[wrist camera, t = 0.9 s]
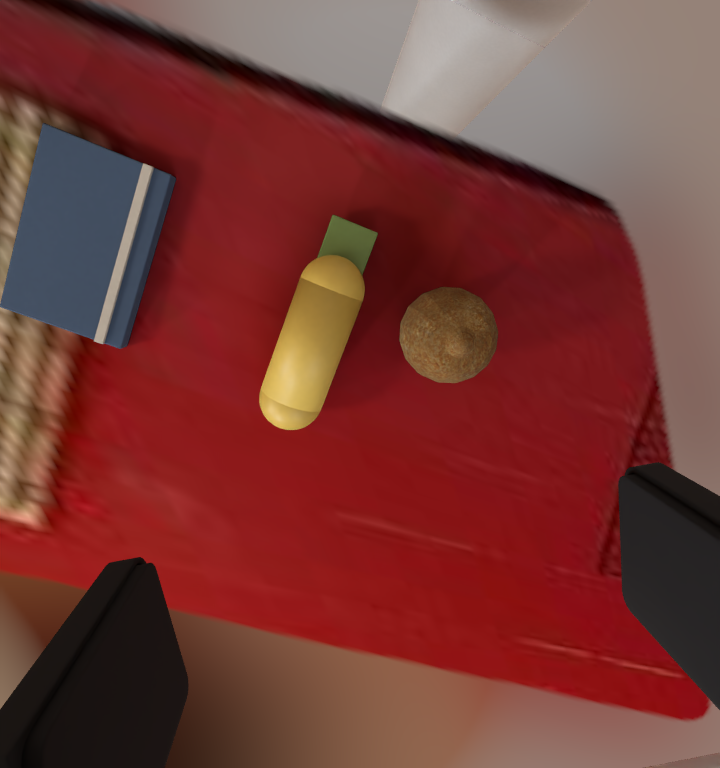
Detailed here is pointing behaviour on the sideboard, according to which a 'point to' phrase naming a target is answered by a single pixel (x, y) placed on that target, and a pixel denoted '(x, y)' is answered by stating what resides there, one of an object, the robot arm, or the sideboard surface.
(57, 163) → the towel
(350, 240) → the corn cob
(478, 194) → the sideboard surface
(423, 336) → the fruit
